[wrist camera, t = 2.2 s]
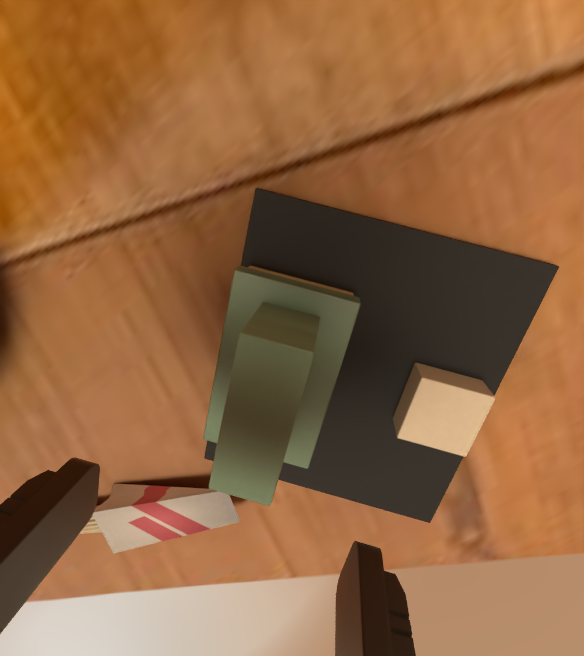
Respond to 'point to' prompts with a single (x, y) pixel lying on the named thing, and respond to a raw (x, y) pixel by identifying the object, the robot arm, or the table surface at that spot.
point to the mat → (394, 337)
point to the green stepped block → (274, 377)
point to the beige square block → (442, 409)
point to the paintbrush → (158, 514)
